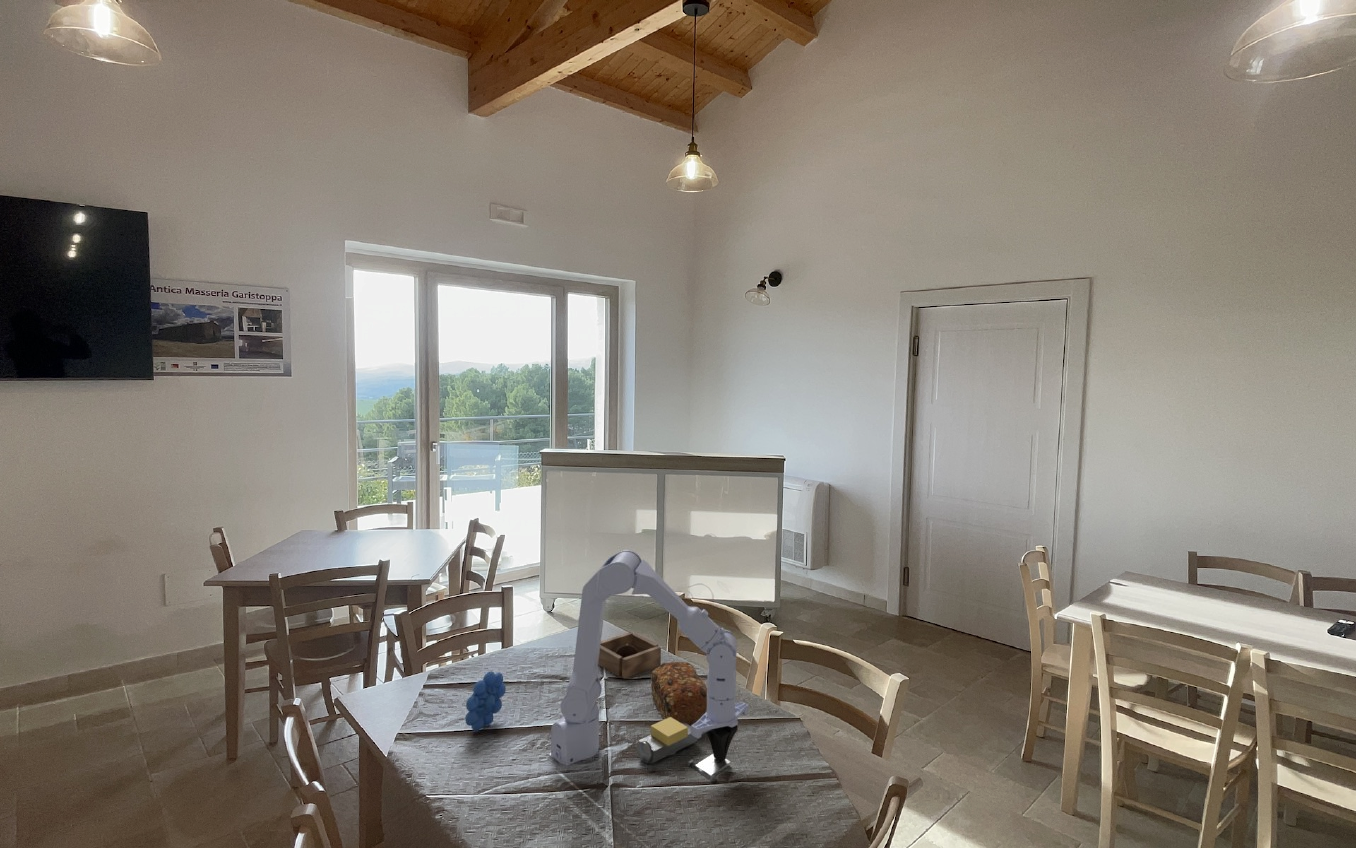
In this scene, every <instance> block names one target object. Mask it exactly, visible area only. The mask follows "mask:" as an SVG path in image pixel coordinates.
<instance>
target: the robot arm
mask: <svg viewBox="0 0 1356 848" xmlns="http://www.w3.org/2000/svg"><path fill="white" fill-rule="evenodd" d="M631 589H632V592H631V595H648V596H649V597H650V598H651V599H653V601H655V602H656V603H657V604H659V605H660V606H661V607H662V608H663V609H664V610H666V611H667V612H668V613H669V614H671V615H672V616H673V617H674V618H675V619H676V620H677V622H678V623H677V628H678V630H679V631H680V632H681V633H682V634H683V635H684V636H686V637H687V638H688V639H689V640H690V641H691V642H692V643H693V644H694V645H695V646H697V648H698V649H699V650H700V651H702V652H703V653H705V654H706V655H705V659H706V661H707V663H708V670H707V683H706V687H707V712H706V713H705V714H704V715H703V716H702V717H701V718H700V719H699V720H698V721H697V722H696V723H695V724H693V725H691V735H693V736H694V737H696V738H698V739H700V738H702V735H703V734H706V736H707V738H708V740H709V743H710V746H711V750H712V754H713V755H714V758H715V759H717V760H719V761H720V762H721V761H723V760H725V759H727V755H728V751H729V748H730V744H731V742H732V740H733V738H734V737H735V734H736V733H737V732H738V728H739V726H738V725H739V721H738V719H739V718H740V716H741V715H743V716H747V715H749V704H747V703H745V702H743V701H740V702H737V703H736V693H737V692H736V688H737V686H736V685H737V671H736V669H737V661H738V660H737V659H738V658H737V652H738V641H737V638H736V637H735V635H734V634H733V632H732V631H730V630H728V629H725V628H724V627H720V626H719V625H718V624H717V623H715V622H714V621H713V620H712V619H711V618H710V617H709V616H708V615H709V612H708V611H707V610H706V609H704V608H703V609H700V608H699V607H698V606H689V605H688V604H687V603H686V602H685V601H684V600H683V599H682V598H681V597H680V596H679V595H678V594H677V593H676V591H674V589H672V588H671V586H669V584H667V583H666V582H665V581H664V579H663V578H662V577H661V576H660V575H659V574H658V573H657V572H656V571H655V570H654V569H653V567H652V566H651V565H650V563H649V562H648V561H646V560H645V559H642V558H641V556H640V555H639V554H638V553H637V552H635V551H634V550H631V549H624V550H622V551H618V552H617V553H615V554H613V555H611V556H610V557H608V559H607V560H606V561H605V562H604V563H603V564H602V565H601V567H599V569H598V570H597V571H596V572H595V573H594V574H593V575H592V576H591V577H590V578H589V580H588V581H587V582H586V583H585V584H584V585H583V587H582V591H581V600H580V607H579V618H578V625H577V633H576V640H575V641H576V642H575V651H574V657H573V658H574V659H573V667H572V671H571V675H570V678H569V681H568V683H567V684H568V685H567V688H566V694H565V696H563V698H562V699H561V702H560V712H561V714H562V716H561V717H560V718H559V719H558V720H557V721H555V722H554V723H553V724H552V725H551V727H550V728H551V729H550V730H551V731H550V752H549V753H548V757H549V758H551V759H554V760H555V761H557V762H558V763H559V764H561V765H564V766H566V767H567V766H570V765H572V764H574V763H577V762H580V761H582V760H587V759H590V758H593V757H594V756H596V754H597V753H598V752H599V748H600V745H599V744H600V736H599V735H600V728H599V727H600V709H599V707H598V703H597V700H598V699H599V698H600V696H601V693H602V684H601V681H600V669H599V665H598V660H599V652H600V644H601V641H602V635H603V627H604V617H605V612H606V611H605V609H606V601H607V599H609V598H610V597H612V596H616V595H620V594H625V593H627V592H629V591H630V590H631Z"/></svg>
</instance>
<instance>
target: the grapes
mask: <svg viewBox="0 0 1356 848" xmlns="http://www.w3.org/2000/svg"><path fill="white" fill-rule="evenodd" d="M472 691H473V693H471V695H470V697H468V698H467V700H466V704H465V708H466V710H467V711H468V712H467V713H466V715H465V718H464V719H465V720H464V721H465V723H466V725H467V726H470V727H471V730H472V731H473V732H478V731H481V729H482V728H483V727H489V726H491V724H492V723H493V722H494V714H497V713H499V712H500V710H501V709H502V706H503V701H502V697H504V696H505V694H506V691H507V689H506V685H505V683H504V676H503V673H501V672H496V673H495V672H494V671H492V670H491V671H488V672H487V673H485V675H484V676H483V679H480V680H478V681H477V682H476V683H474V685H473V688H472Z"/></svg>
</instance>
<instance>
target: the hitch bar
mask: <svg viewBox="0 0 1356 848" xmlns="http://www.w3.org/2000/svg"><path fill="white" fill-rule="evenodd" d="M680 723H682V724H683V725H685V726H687V727H688V737H685V738H683V739H681V740H679V741H677V742H675V743H673V744H671V745H669V746H667V745H666V744H664V743H663V742H661V741H660V740H658V739H657V738H655V737H653V736H652V735H651V734H649V735H648V736H647V735H646V736H645V737H643V738H641V739H638V743H637V745H636V753H637V756H638V758H639V760H640V761H641V763H643V764H647V763H648V764H649V765H653V764H654V763H656V762H658V761H660V760H661V759H663V758H666V757H668V756H671V755H670V754H672V753H674V752H676V753H677V752H678V751H680V750H682V749H684V748H686V747H689V746H691V745H693V744H694V743H696V742H698V739H699V738H696V737H694V736H693V735H691V726H690V725H688V724H687V723H685V722H683V721H680ZM686 764H687V765H686V766H687V767H689V768H691V767H690V766H691V764H694V765H695V760H693V759H690V760H688V761H687V763H686ZM717 778H718V777H717V774H713V775H712V776H710V780H709V781H710V782H711V783H713V782H715V781H717Z"/></svg>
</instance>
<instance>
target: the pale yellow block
mask: <svg viewBox="0 0 1356 848" xmlns="http://www.w3.org/2000/svg"><path fill="white" fill-rule="evenodd" d="M650 735H652V736H653V737H655V738H657V739H658V740H660V741H661V742H663V743H664V744H666V745H667V746H669V745H671V744H673V743H675V742H677V741H679V740H681V739H683V738H685V737H688V727H687V726H685V725H683V724H682V723H680V722H678V721H677V720H675V719H673V718H671V717H669V718H667V719H665V720H664V719H662V720H660V721H658V722H656V723H654V724H651V725H650ZM676 753H677V751H676V752H674V753H672V754H670V755H669V756H673V755H675V754H676Z"/></svg>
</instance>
